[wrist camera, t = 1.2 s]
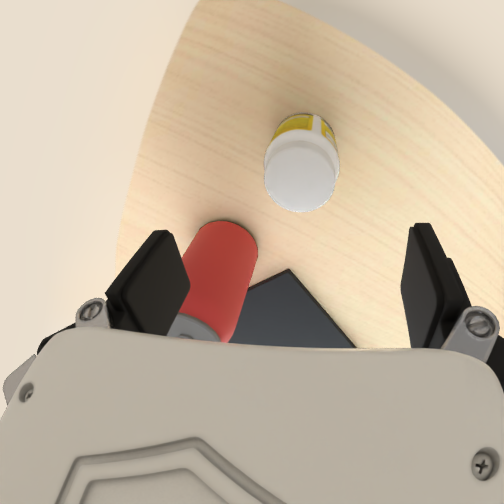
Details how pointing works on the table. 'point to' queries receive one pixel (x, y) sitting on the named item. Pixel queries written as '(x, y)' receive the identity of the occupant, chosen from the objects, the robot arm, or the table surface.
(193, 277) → the beer can
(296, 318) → the mat
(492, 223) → the table surface
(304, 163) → the supplement bottle
